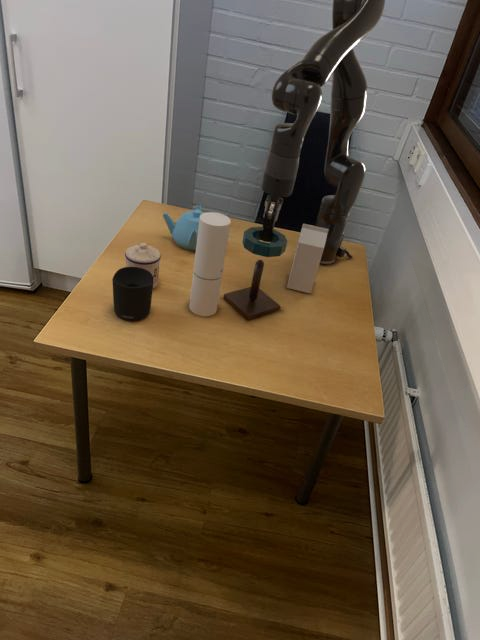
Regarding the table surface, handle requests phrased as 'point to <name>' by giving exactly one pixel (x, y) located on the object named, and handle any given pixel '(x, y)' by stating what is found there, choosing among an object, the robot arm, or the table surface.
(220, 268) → the cylindrical container
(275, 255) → the ring
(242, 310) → the stand
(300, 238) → the milk carton
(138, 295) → the pen holder
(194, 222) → the teapot
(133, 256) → the teacup with lid
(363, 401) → the table surface
